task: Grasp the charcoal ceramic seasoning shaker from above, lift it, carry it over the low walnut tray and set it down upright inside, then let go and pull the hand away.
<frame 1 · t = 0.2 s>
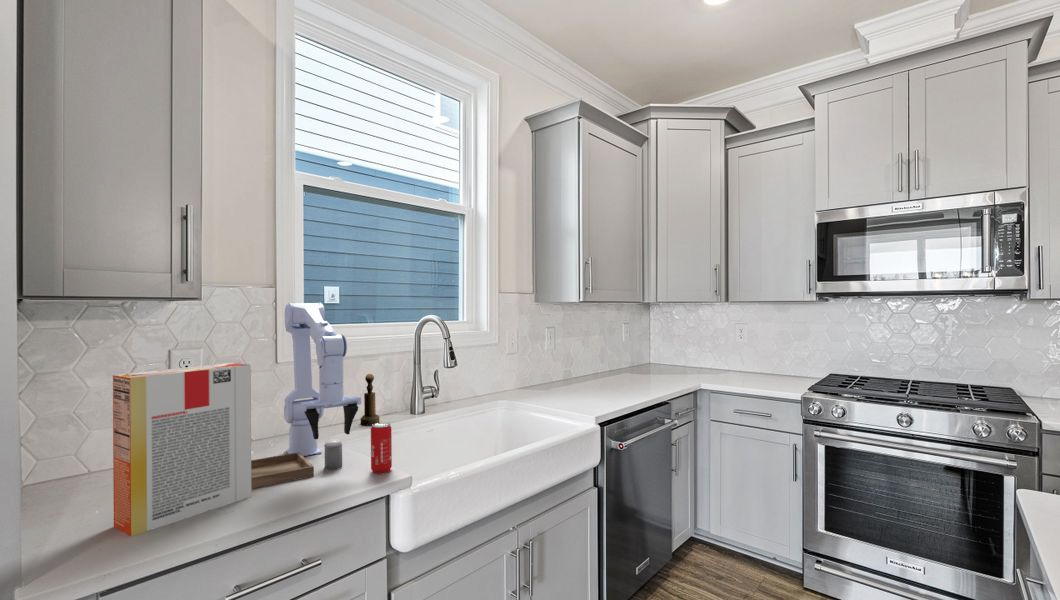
hand: (331, 435, 130), 10 cm above the worktop, tool pointing down, fingers open, 7 cm apart
seasoning shaker: (333, 467, 136), on the worktop
beverage can: (381, 471, 133), on the worktop
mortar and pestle: (370, 424, 186), on the worktop
cereal box: (187, 511, 109), on the worktop
walnut tray: (272, 474, 131), on the worktop
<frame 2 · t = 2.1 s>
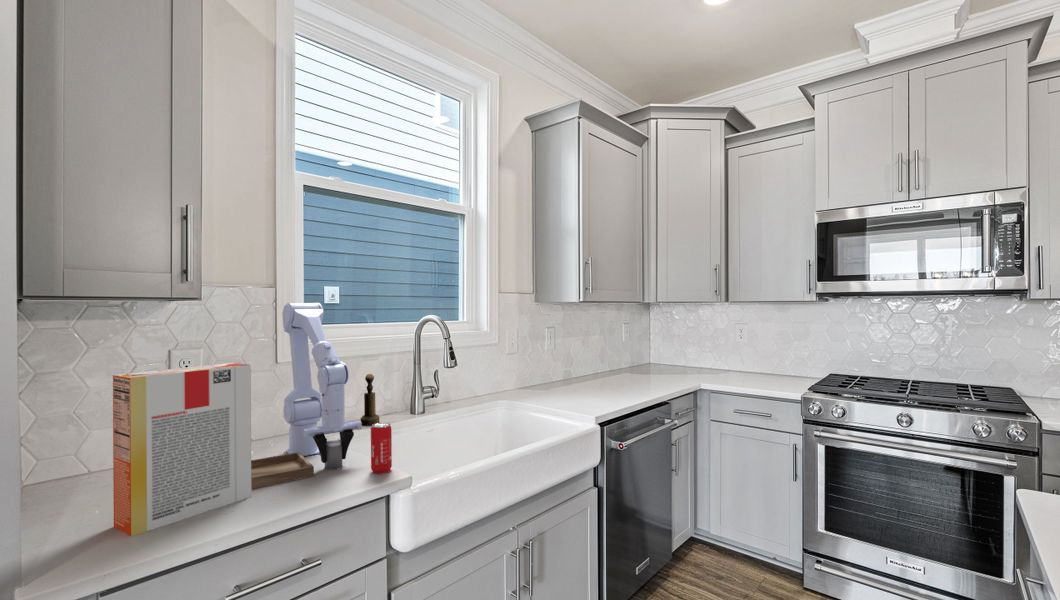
hand: (333, 460, 136), 2 cm above the worktop, tool pointing down, fingers closed on seasoning shaker, 4 cm apart
seasoning shaker: (333, 467, 136), on the worktop, touching gripper
everything else where it was.
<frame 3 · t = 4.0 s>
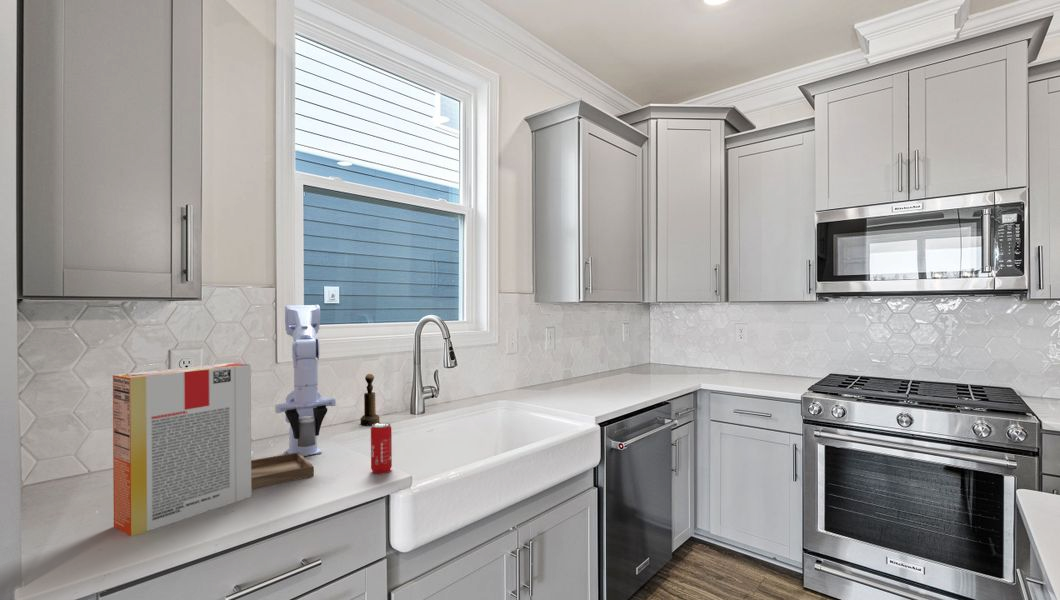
hand: (306, 436, 134), 9 cm above the worktop, tool pointing down, fingers closed on seasoning shaker, 4 cm apart
seasoning shaker: (306, 444, 134), point 7 cm above the worktop, touching gripper
everything else where it was.
when the fingers open (4 cm above the worktop, at t = 5.9 s): seasoning shaker drops 1 cm, resting on walnut tray.
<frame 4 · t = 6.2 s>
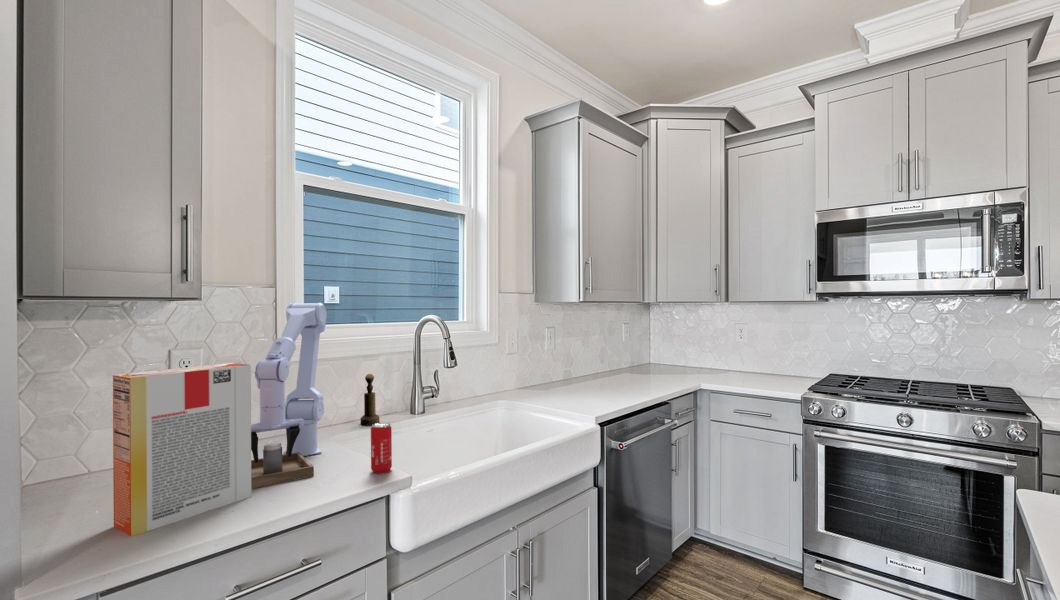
hand: (272, 458, 131), 4 cm above the worktop, tool pointing down, fingers open, 7 cm apart
seasoning shaker: (273, 472, 131), point 1 cm above the worktop, touching walnut tray
everything else where it was.
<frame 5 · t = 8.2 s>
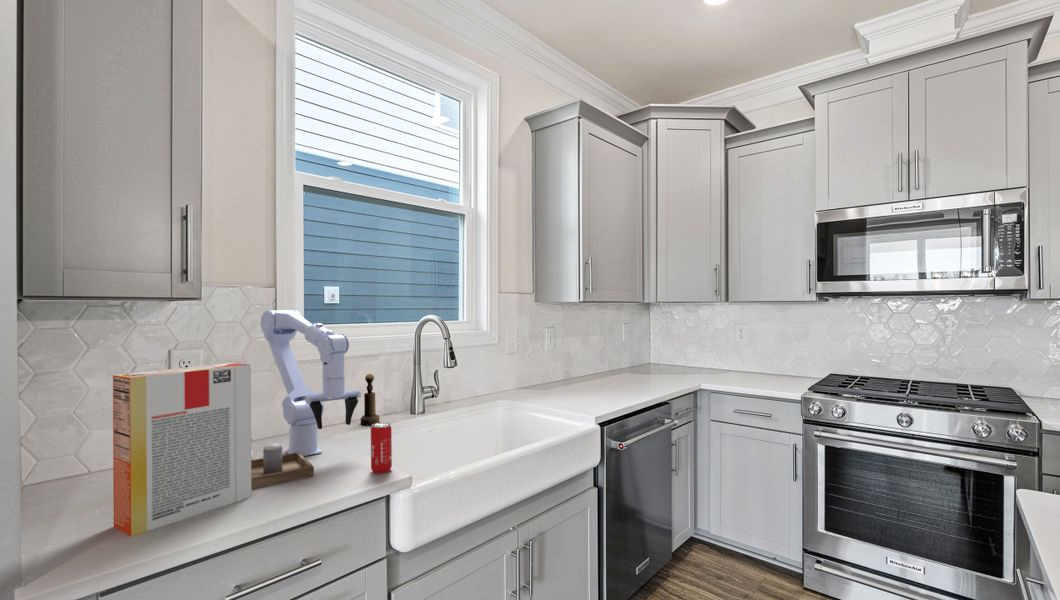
hand: (334, 426, 143), 9 cm above the worktop, tool pointing down, fingers open, 7 cm apart
nothing on the worktop moved.
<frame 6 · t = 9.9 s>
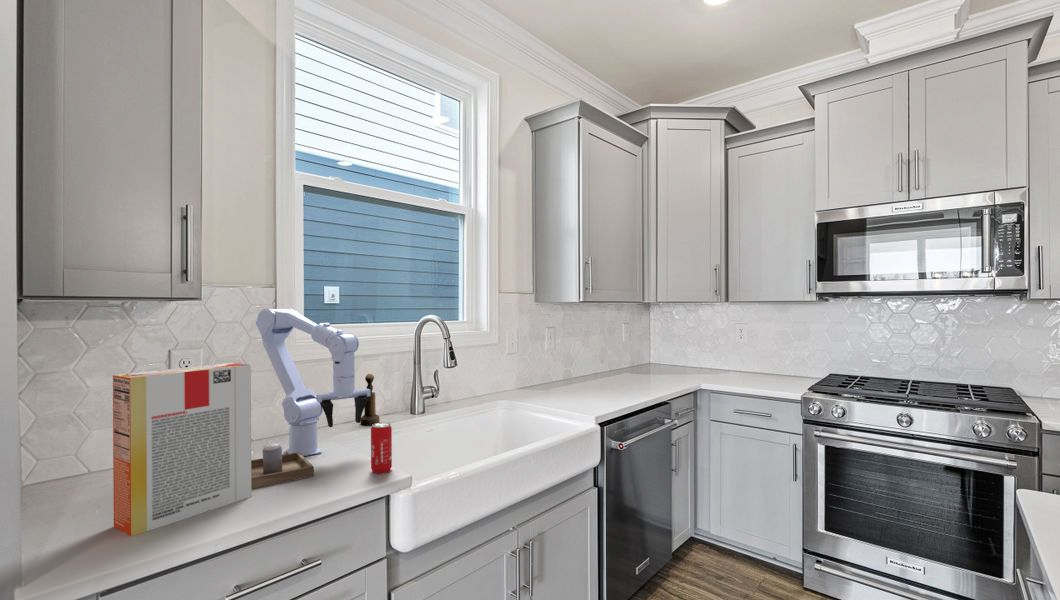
hand: (344, 424, 145), 9 cm above the worktop, tool pointing down, fingers open, 7 cm apart
nothing on the worktop moved.
at the end: seasoning shaker inside the target area on the walnut tray (0.3 cm from its centre), point 0.7 cm above the walnut tray's base; seasoning shaker tilted 2°; the gripper is holding nothing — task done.
